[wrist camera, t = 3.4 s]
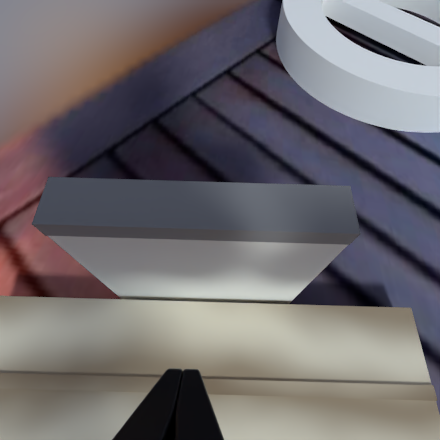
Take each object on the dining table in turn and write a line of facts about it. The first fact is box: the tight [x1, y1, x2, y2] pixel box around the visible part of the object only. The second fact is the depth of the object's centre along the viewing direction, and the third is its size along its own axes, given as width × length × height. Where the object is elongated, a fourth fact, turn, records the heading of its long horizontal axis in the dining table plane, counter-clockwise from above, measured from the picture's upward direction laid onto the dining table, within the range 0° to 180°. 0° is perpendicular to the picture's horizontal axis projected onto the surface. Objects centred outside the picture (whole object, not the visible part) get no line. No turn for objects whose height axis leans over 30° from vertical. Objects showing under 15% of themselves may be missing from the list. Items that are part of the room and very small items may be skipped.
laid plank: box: [0, 296, 440, 440], centre depth 19 cm, size 10×28×2 cm, turn 89°
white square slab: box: [32, 177, 360, 304], centre depth 17 cm, size 2×12×12 cm, turn 88°
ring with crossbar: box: [276, 0, 440, 132], centre depth 35 cm, size 28×28×5 cm
